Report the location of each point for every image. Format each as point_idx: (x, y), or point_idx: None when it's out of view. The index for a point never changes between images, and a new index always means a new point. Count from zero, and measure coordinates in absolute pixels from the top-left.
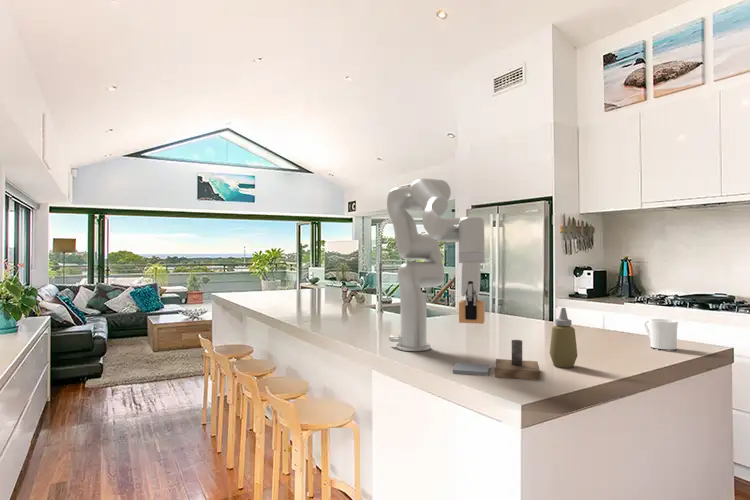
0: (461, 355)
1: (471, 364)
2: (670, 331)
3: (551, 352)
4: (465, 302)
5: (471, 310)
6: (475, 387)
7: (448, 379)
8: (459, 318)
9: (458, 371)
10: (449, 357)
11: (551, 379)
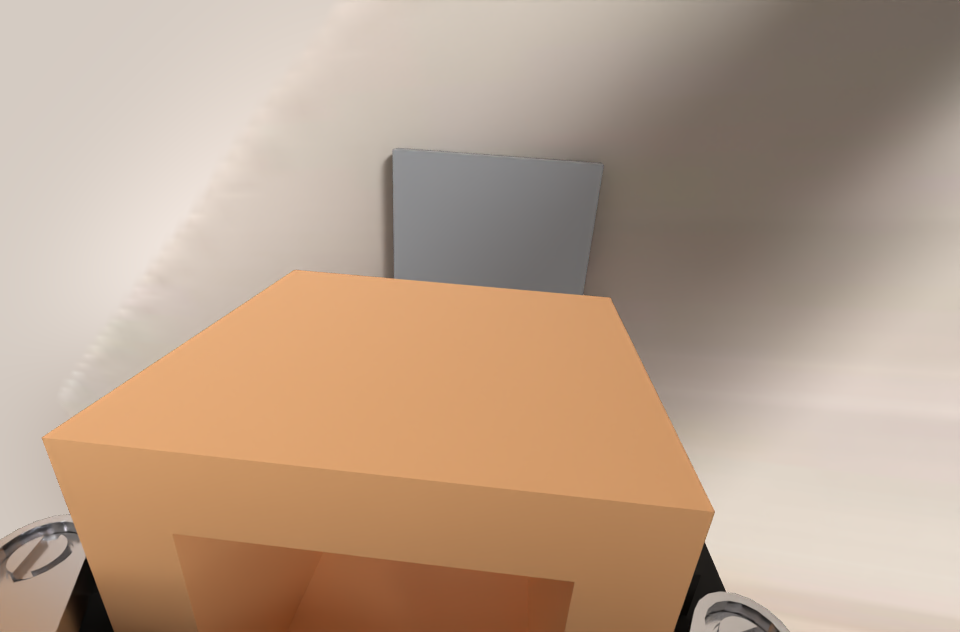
0: (917, 188)
1: (550, 258)
2: None
3: None
4: (97, 565)
5: None
6: (179, 266)
7: (262, 128)
8: (265, 295)
9: (395, 182)
10: (854, 98)
11: None
